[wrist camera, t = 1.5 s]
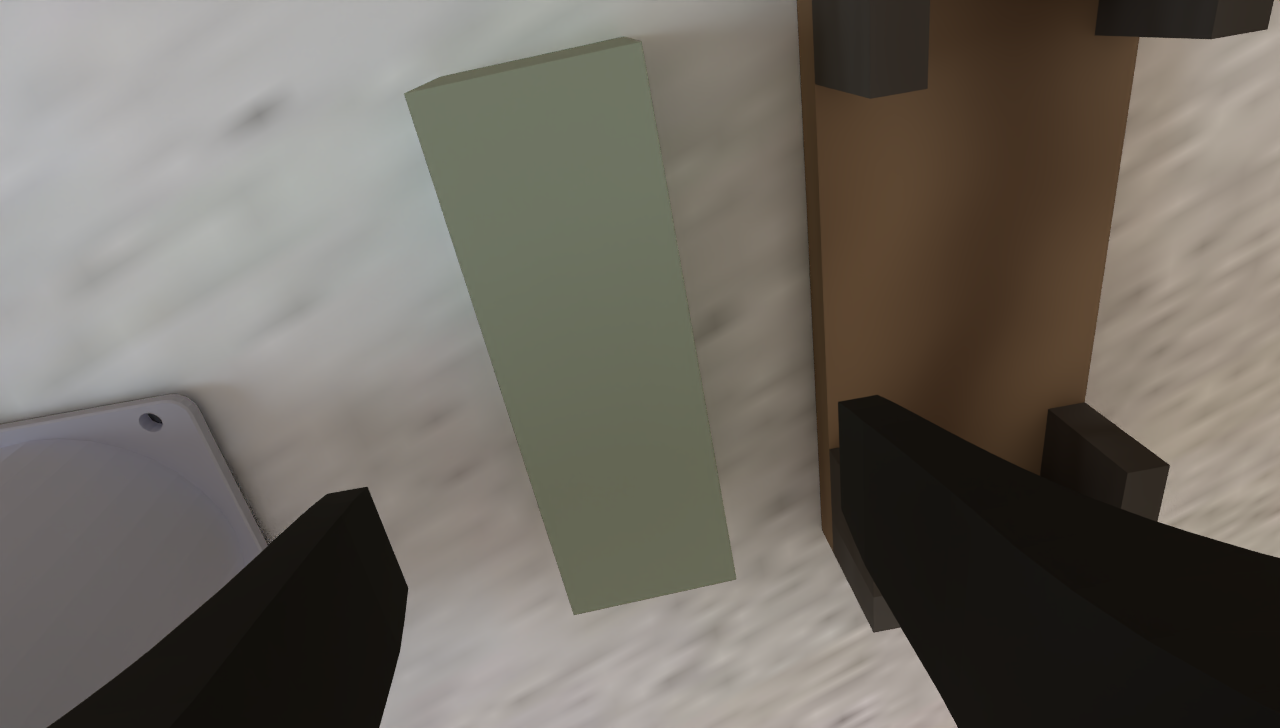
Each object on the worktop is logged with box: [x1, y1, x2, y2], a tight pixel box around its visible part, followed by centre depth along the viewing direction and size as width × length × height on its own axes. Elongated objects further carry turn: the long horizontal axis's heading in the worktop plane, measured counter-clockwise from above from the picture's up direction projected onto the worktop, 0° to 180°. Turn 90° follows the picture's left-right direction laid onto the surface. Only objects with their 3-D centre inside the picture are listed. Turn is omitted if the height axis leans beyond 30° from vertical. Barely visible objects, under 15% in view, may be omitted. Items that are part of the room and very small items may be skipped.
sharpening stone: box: [404, 37, 736, 615], centre depth 16 cm, size 4×12×4 cm, turn 11°
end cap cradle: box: [797, 0, 1274, 632], centre depth 16 cm, size 7×16×4 cm, turn 9°
